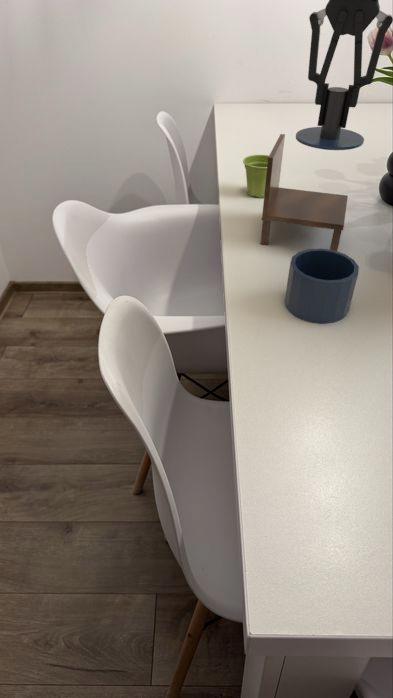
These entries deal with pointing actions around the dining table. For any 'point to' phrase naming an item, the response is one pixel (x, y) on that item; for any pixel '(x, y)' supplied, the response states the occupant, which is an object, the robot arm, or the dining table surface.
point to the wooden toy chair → (299, 203)
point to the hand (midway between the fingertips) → (331, 124)
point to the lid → (331, 126)
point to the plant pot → (256, 174)
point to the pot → (320, 285)
